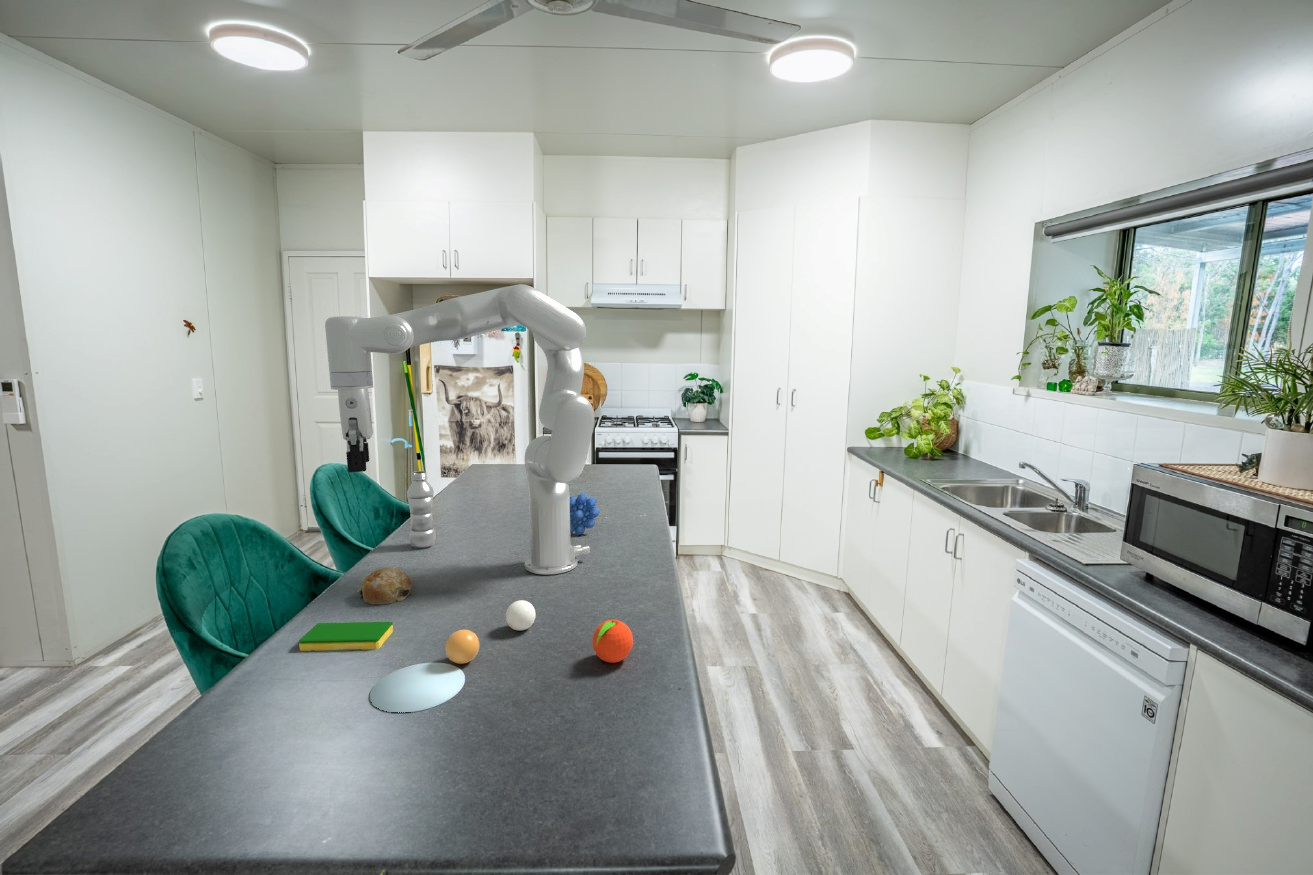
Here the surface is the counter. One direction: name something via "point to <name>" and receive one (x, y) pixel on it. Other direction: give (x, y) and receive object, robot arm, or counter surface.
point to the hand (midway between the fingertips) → (359, 466)
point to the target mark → (417, 687)
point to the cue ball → (520, 615)
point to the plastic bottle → (421, 511)
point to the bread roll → (385, 586)
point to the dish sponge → (346, 636)
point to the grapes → (582, 513)
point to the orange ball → (462, 646)
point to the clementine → (612, 641)
